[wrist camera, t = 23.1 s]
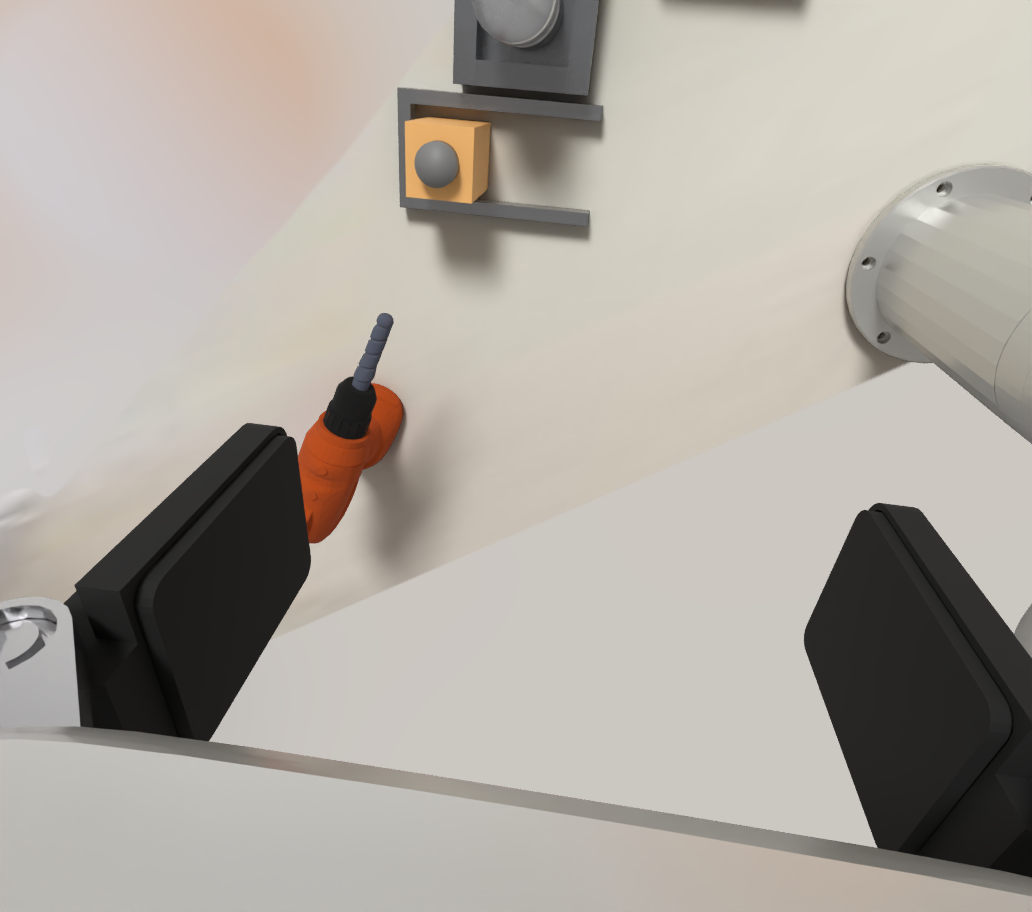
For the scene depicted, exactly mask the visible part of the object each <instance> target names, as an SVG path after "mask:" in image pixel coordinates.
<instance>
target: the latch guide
mask: <svg viewBox="0 0 1032 912" xmlns="http://www.w3.org/2000/svg"><path fill="white" fill-rule="evenodd" d="M397 90H398V136H399V182H400V207H405V208H414V209H424V210H434V211H443V212H453V213H463V214H473V215H482V216H492V217H502V218H511V219H521V220H531V221H541V222H550V223H560V224H570V225H579V226H588V218H589V210H579V209H569V208H559V207H549V206H539V205H530V204H520V203H510V202H500V201H490V200H480V199H476V200H475V201H474V202H473V203H472V204H471V203H461V202H452V201H442V200H432V199H422V198H412V197H406V164H405V121H409V120H415V104H421V105H431V106H442V107H453V108H464V109H475V110H486V111H497V112H507V113H518V114H529V115H540V116H551V117H562V118H572V119H583V120H594V121H601V118H602V110H603V106H601V105H590V104H579V103H568V102H556V101H545V100H534V99H523V98H512V97H501V96H490V95H479V94H468V93H457V92H446V91H435V90H424V89H413V88H397Z"/></svg>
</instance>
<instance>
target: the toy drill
mask: <svg viewBox="0 0 1032 912" xmlns="http://www.w3.org/2000/svg"><path fill="white" fill-rule="evenodd" d="M392 325H393V318H392V316H391V315H389V314H387V313H382V314H380V315H379V316H378V318H377V325H376V326H375V327H374V328H373V330H372V333H371V336H370V337H371V340H369V341H368V344H367V346H366V349H365V351H366V353H365V354H363V356H362V358H361V360H360V362H359V366H358V367H357V369H356V371H355V373H354V377H348V378H347V379H345V380H344V381H342V382H341V383H340V384H339V385H338V386H337V389H336V392H335V395H334V397H333V400H331V401H330V403H329V405H328V408H327V410H326V411H325V412H323V413H322V414H321V415H320V417H319V419H318V421H317V422H316V423H315V424H314V425H313V426H312V427H311V429H310V430H309V431H308V432H307V433H306V436H305V439H304V441H303V444H302V447H301V450H300V452H299V455H298V462H299V470H300V477H301V485H302V493H303V501H304V508H305V516H306V524H307V532H308V539H309V543H319V542H321V541H323V540H324V539H325V538H326V537H327V536H329V535H330V534H331V533H332V531H333V530H334V529H335V528H336V526H337V525H338V523H339V522H340V520H341V519H342V517H343V516H344V514H345V512H346V510H347V508H348V506H349V504H350V502H351V500H352V498H353V495H354V493H355V490H356V487H357V484H358V480H359V477H360V475H361V473H362V470H363V469H366V468H369V467H371V466H373V465H375V464H377V463H378V462H379V461H380V460H381V459H382V458H383V457H384V455H385V454H386V453H387V451H388V449H389V448H390V446H391V444H392V442H393V440H394V438H395V436H396V434H397V432H398V429H399V427H400V424H401V421H402V417H403V406H402V403H401V401H400V399H399V398H398V396H397V395H396V394H395V393H394V392H392V391H391V390H390V389H388V388H386V387H384V386H381V385H379V384H374V383H371V381H372V380H373V378H374V376H375V372H376V367H377V364H378V362H379V360H380V357H381V354H382V351H383V349H384V347H385V344H386V341H387V338H388V336H389V333H390V330H391V328H392Z"/></svg>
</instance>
